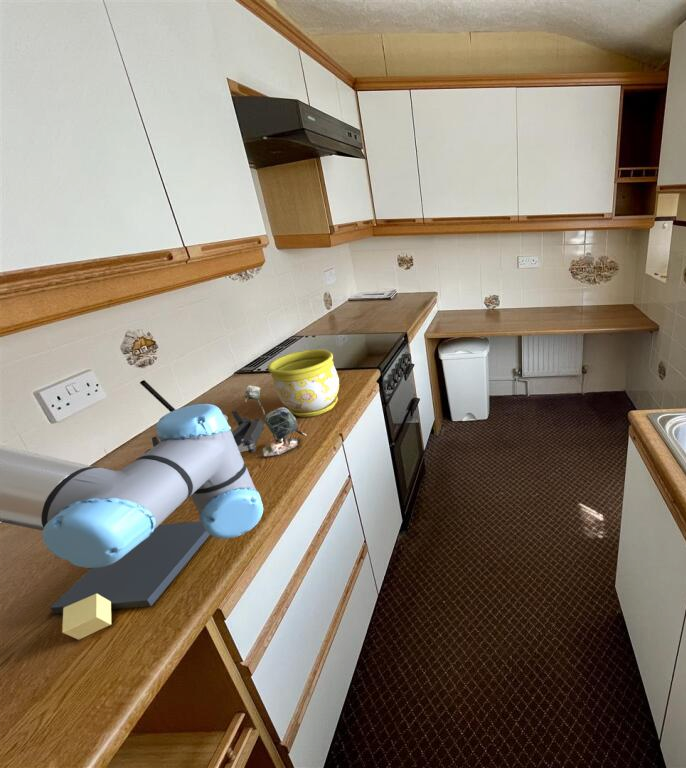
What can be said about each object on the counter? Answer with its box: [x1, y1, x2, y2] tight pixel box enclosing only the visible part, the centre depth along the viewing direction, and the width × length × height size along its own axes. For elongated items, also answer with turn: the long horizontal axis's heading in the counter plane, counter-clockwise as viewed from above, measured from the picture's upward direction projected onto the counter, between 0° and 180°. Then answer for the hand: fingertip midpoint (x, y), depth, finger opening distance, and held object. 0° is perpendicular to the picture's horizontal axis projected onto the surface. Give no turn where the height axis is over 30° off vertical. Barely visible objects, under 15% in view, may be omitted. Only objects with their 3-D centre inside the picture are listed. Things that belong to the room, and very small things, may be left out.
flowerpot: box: [267, 349, 340, 418], centre depth 126 cm, size 18×18×16 cm
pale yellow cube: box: [61, 594, 112, 641], centre depth 64 cm, size 4×4×4 cm
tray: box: [49, 521, 211, 615], centre depth 75 cm, size 16×18×2 cm
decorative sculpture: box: [244, 384, 308, 457], centre depth 105 cm, size 8×11×20 cm
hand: (198, 428), depth 84 cm, fingers open, 13 cm apart
